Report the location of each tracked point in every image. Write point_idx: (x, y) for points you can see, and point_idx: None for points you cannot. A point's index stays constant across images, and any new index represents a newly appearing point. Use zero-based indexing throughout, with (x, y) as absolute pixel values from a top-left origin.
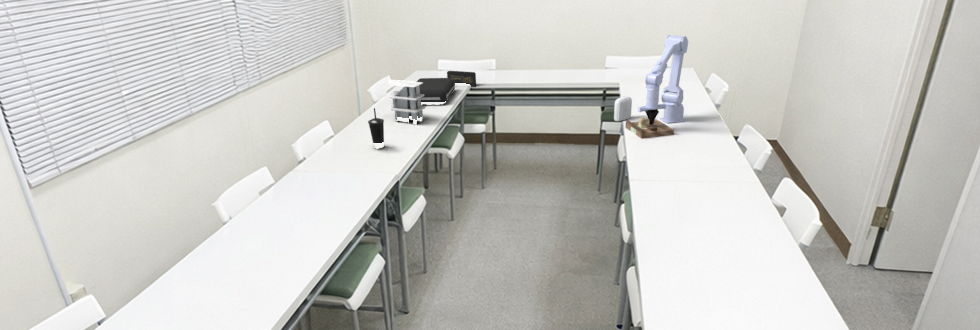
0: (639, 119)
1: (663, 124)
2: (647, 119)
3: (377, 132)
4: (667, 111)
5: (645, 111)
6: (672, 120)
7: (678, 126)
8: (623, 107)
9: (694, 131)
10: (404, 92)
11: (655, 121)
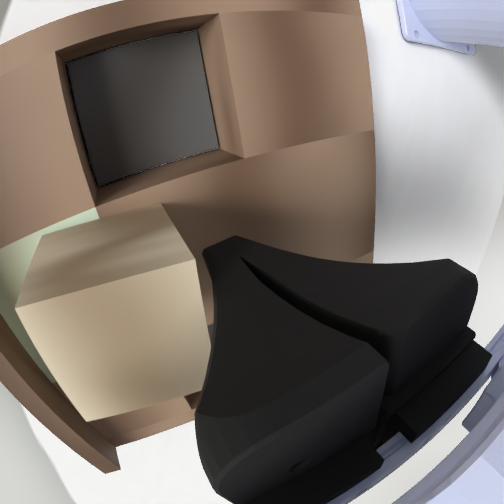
0: (37, 330)
1: (364, 195)
2: (186, 387)
3: None
4: (490, 5)
5: (205, 439)
6: (443, 39)
7: (432, 131)
8: None
9: (444, 241)
10: None
11: (329, 63)
